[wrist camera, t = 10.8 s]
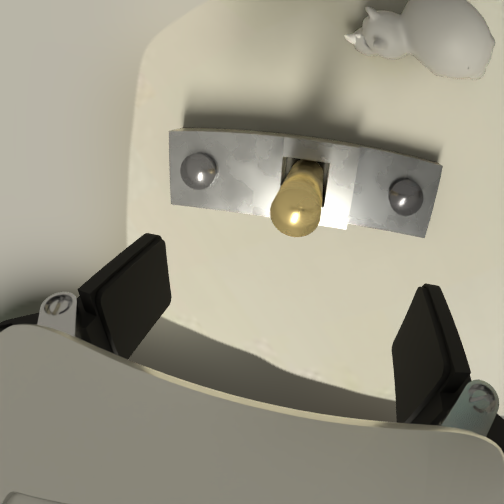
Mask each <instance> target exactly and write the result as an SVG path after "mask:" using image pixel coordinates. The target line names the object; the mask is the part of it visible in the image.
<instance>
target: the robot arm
mask: <svg viewBox="0 0 504 504" xmlns="http://www.w3.org/2000/svg"><path fill="white" fill-rule="evenodd" d="M78 292H79V295H80V296H79V297H78V298H76V297H75V295H74V294H72V293H70V292H59V293H56V294H53V295H51V296H49V297H48V298H47V299H46V300H45V301H44V302H43V303H42V305H41V308H40V313H36V314H31V315H27V316H23V317H18V318H14V319H10V320H6V321H3V322H1V323H0V504H504V419H502V418H501V417H500V416H499V415H498V414H497V411H498V408H499V398H498V395H497V393H496V391H495V390H494V388H493V387H492V386H491V385H490V384H488V383H486V382H485V381H482V380H473V381H471V377H470V373H471V371H470V368H469V364H468V361H467V358H466V355H465V352H464V349H463V346H462V343H461V340H460V337H459V334H458V331H457V328H456V326H455V323H454V320H453V318H452V315H451V312H450V310H449V307H448V305H447V302H446V300H445V298H444V295H443V293H442V291H441V288H440V287H439V286H436V285H431V284H424V285H423V286H422V287H418V289H417V291H416V293H415V296H414V298H413V300H412V303H411V305H410V307H409V310H408V312H407V314H406V316H405V319H404V321H403V323H402V325H401V327H400V329H399V332H398V334H397V336H396V338H395V340H394V342H393V345H392V357H393V367H394V379H395V393H396V414H397V423H393V422H382V421H371V420H363V419H353V418H345V417H338V416H331V415H324V414H318V413H312V412H306V411H300V410H295V409H291V408H285V407H281V406H276V405H271V404H267V403H263V402H258V401H254V400H250V399H246V398H242V397H238V396H234V395H231V394H227V393H224V392H220V391H217V390H213V389H210V388H206V387H203V386H200V385H197V384H193V383H190V382H187V381H184V380H181V379H178V378H176V377H173V376H170V375H167V374H164V373H161V372H159V371H156V370H153V369H150V368H148V367H145V366H142V365H140V364H138V363H135V362H133V361H130V360H128V359H129V357H130V356H131V355H132V353H133V351H135V349H136V348H137V346H138V345H139V344H140V343H141V341H142V340H143V339H144V337H145V336H146V335H147V333H148V332H149V331H150V330H151V328H152V327H153V326H154V324H155V323H156V321H157V320H158V319H159V318H160V316H161V315H162V314H163V313H164V311H165V310H166V309H167V307H168V306H169V305H170V302H171V290H170V282H169V274H168V265H167V256H166V246H165V241H164V240H162V238H161V236H159V235H154V234H149V233H146V234H144V235H143V236H141V237H140V238H139V239H138V240H136V241H135V242H134V243H132V244H131V245H130V246H129V247H127V248H126V249H125V250H124V251H123V252H122V253H120V254H119V255H118V256H116V257H115V258H114V259H113V260H112V261H110V262H109V263H108V264H107V265H105V266H104V267H103V268H102V269H101V270H99V271H98V272H97V273H96V274H95V275H94V276H92V277H91V278H90V279H89V280H88V281H87V282H85V283H84V284H83V285H82V286H81V287H80V288H79V289H78Z"/></svg>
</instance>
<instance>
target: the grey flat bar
mask: <svg viewBox="0 0 504 504" xmlns="http://www.w3.org/2000/svg"><path fill="white" fill-rule="evenodd" d="M287 157H291V158H299V159H306V160H313V161H320V162H327V163H329V167H328V175H327V182H326V189H325V196H324V197H322V209H321V219H320V222H319V225H323V226H329V227H335V228H341V229H346V228H347V224H353V225H359V226H364V227H370V228H375V229H381V230H386V231H391V232H396V233H401V234H406V235H411V236H416V237H421V238H425V235H426V231H427V228H428V224H429V221H430V217H431V214H432V210H433V206H434V202H435V198H436V194H437V190H438V186H439V181H440V177H441V172H442V167H443V166H442V165H440V164H439V163H436V162H433V161H429V160H426V159H422V158H418V157H414V156H410V155H406V154H402V153H398V152H393V151H389V150H384V149H379V148H375V147H370V146H365V145H359V144H354V143H348V142H342V141H336V140H330V139H324V138H317V137H309V136H302V135H293V134H284V133H275V132H264V131H251V130H236V129H215V128H180V129H176V130H171V131H169V164H170V192H171V204H173V205H182V206H190V207H198V208H206V209H214V210H222V211H229V212H237V213H244V214H251V215H258V216H265V217H271V216H270V208H271V204H272V202H273V200H274V198H275V196H276V195H277V193H278V191H279V189H280V187H281V186H282V184H283V182H284V180H285V170H286V159H287Z"/></svg>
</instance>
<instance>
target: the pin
mask: <svg viewBox="0 0 504 504" xmlns="http://www.w3.org/2000/svg"><path fill="white" fill-rule="evenodd" d="M322 192H323V171H322V168H321V166H320V165H319V164H318V163H317V162H315V161H313V160H306V159H301V160H299V161H297V162H296V163H295V164H294V165H293V166H292V168H291V170H290V171H289V173H288V175H287V177H286V178H285V180H284V182H283V184H282V186H281V187H280V189H279V191H278V193H277V195H276V196H275V198H274V200H273V202H272V204H271V208H270V216H271V220H272V222H273V224H274V225H275V227H276V228H277V229H278V230H279V231H280V232H282V233H283V234H285V235H288V236H292V237H302V236H306V235H308V234H310V233H311V232H313V231H314V230H315V229H316V228H317V226H318V225H319V222H320V219H321V209H322Z"/></svg>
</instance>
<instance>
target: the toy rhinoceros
mask: <svg viewBox="0 0 504 504" xmlns="http://www.w3.org/2000/svg"><path fill="white" fill-rule="evenodd" d="M365 10H366V12H367V13H368V14H369V15H368V16H367V17H366V18H364V20H363V27H361V28H359V29H358V30H356V31H355V32H354V33H353V34H346V35H345V36H344V37H345V39H346V40H347V41H349V42H350V43H353V44H354V46H355V49H356V50H357V51H359V52H361V53H362V54H364V55H367V56H377V55H379V56H381V57H384V58H387V59H400V58H402V57H404V56H406V55H407V54H411V55H413V56H415V57H416V58H417V59H418V60H419V61H420V62H421V63H422V64H423V65H424V66H426V67H427V68H428V69H429V70H430V71H431V72H432V73H433V74H435V75H437V76H440V77H448V78H452V79H467V78H470V79H472V80H478V79H480V78H482V77H483V76H484V74H485V70H486V67H487V65H488V64H489V62H490V60H491V57H492V52H493V48H494V46H495V40H494V38H493V36H492V35H491V33H490V30H489V27H488V25H487V23H486V21H485V20H484V18H483V17H482V15H481V14H480V13H479V12H478V10H477V9H476V8H475V7H474V6H472V5H471V4H470V3H469V2H467V1H466V0H409V1H408V3H407V4H406V6H405V8H404V10H403V12H402V14H396V13H394V12H391V11H386V10H379V11H376V10H375V9H373V8H371V7H368V6H366V8H365Z"/></svg>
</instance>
